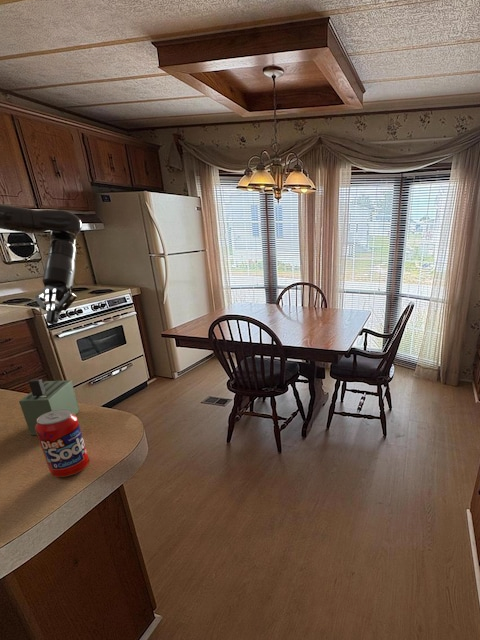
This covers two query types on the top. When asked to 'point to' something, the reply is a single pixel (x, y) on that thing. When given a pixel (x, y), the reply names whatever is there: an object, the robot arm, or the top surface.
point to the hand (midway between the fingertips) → (51, 323)
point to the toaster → (49, 402)
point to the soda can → (62, 442)
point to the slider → (37, 387)
